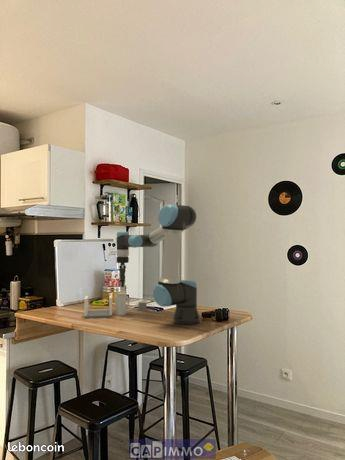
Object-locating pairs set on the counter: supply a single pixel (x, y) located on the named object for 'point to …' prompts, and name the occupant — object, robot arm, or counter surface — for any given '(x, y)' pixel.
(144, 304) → the junction box
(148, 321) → the counter surface
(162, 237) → the robot arm
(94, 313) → the grey u-shaped piece
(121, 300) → the mug
